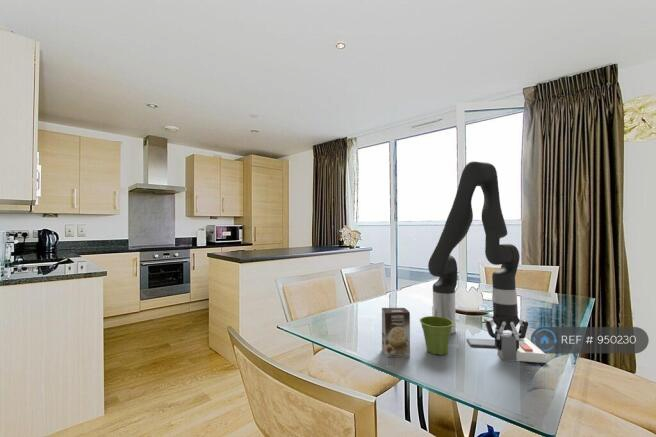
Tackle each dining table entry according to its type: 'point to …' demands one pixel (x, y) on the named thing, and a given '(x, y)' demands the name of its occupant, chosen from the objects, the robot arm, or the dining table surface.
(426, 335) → the plant pot
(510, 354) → the block
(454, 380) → the dining table surface
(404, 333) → the coffee box
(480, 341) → the phone
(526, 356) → the power strip
